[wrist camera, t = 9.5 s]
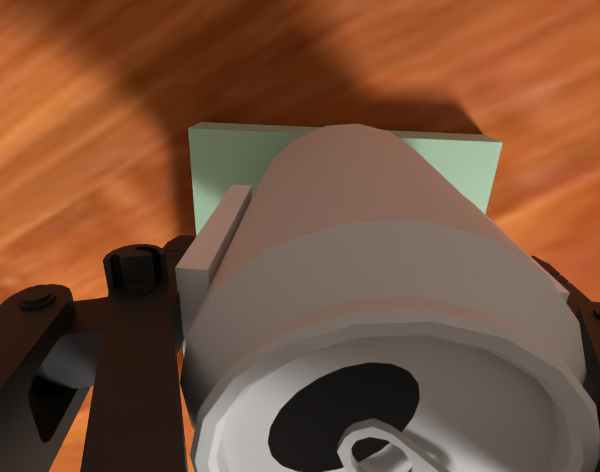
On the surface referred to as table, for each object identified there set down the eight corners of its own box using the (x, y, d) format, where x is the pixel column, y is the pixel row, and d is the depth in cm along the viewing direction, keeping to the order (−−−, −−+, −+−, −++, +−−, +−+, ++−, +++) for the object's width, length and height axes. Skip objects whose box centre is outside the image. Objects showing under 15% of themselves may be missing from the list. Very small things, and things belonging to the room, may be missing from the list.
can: (339, 76, 15) (404, 134, 4) (469, 202, 16) (771, 491, 5) (222, 216, 17) (55, 493, 6) (346, 311, 19) (385, 655, 8)
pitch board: (214, 331, 23) (205, 354, 21) (201, 121, 18) (187, 128, 16) (436, 345, 23) (446, 369, 21) (483, 134, 18) (502, 142, 16)
